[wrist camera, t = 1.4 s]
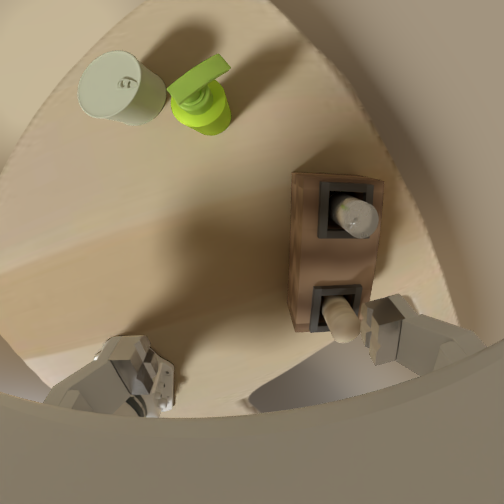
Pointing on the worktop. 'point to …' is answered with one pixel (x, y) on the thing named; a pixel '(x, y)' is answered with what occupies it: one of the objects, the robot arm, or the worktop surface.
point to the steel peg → (353, 214)
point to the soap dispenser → (202, 97)
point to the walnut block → (328, 248)
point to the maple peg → (340, 318)
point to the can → (121, 89)
